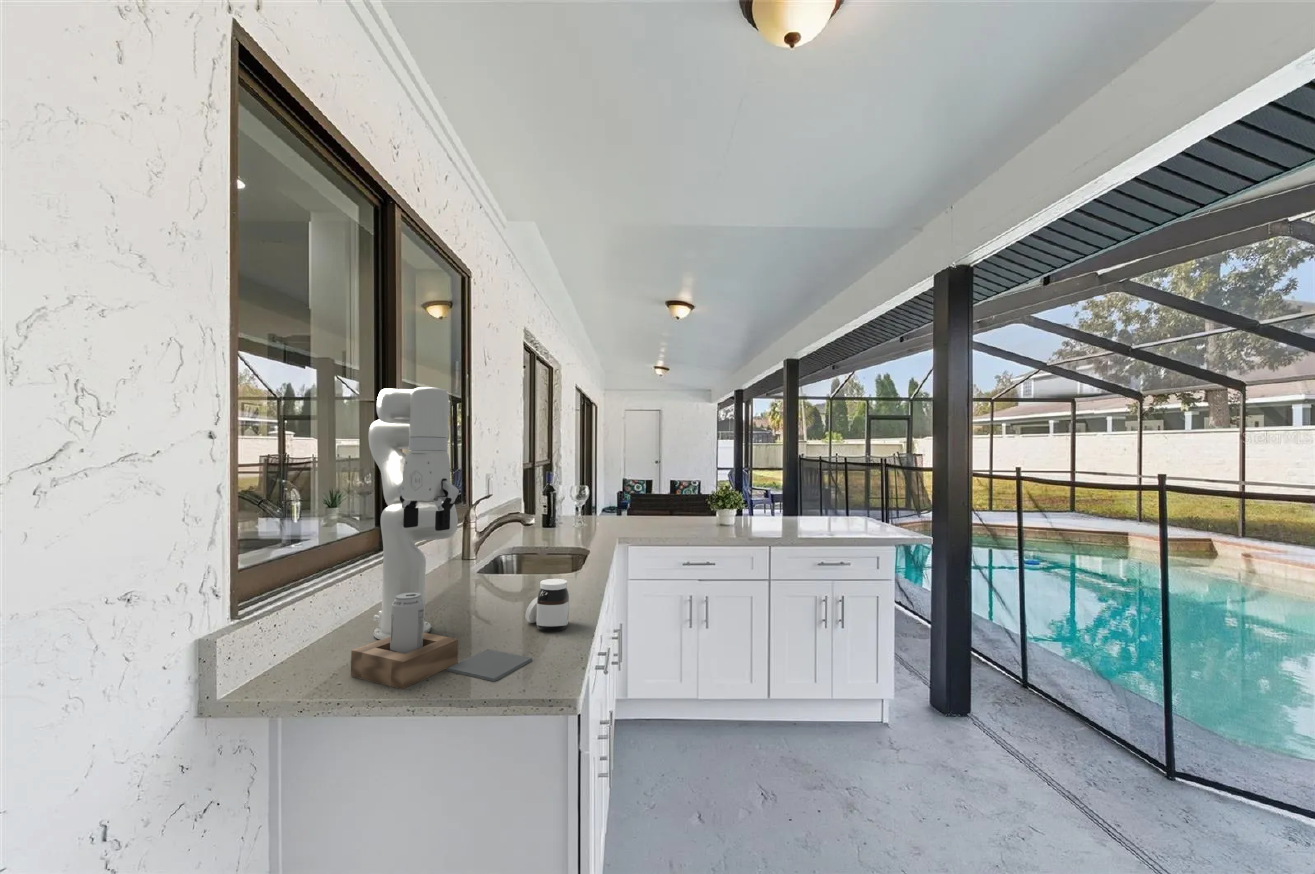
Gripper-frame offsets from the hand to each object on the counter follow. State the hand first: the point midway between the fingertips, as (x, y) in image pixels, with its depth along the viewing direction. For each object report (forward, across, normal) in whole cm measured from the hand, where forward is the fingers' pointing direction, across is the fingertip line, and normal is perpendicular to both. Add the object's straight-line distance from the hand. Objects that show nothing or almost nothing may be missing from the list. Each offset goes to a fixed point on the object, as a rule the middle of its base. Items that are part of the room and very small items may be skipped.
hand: (426, 528), depth 114 cm
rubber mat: (+28, +12, +8) cm, 32 cm away
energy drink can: (+28, -2, -3) cm, 29 cm away
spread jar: (+28, +4, +34) cm, 44 cm away
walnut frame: (+28, -2, -3) cm, 28 cm away
